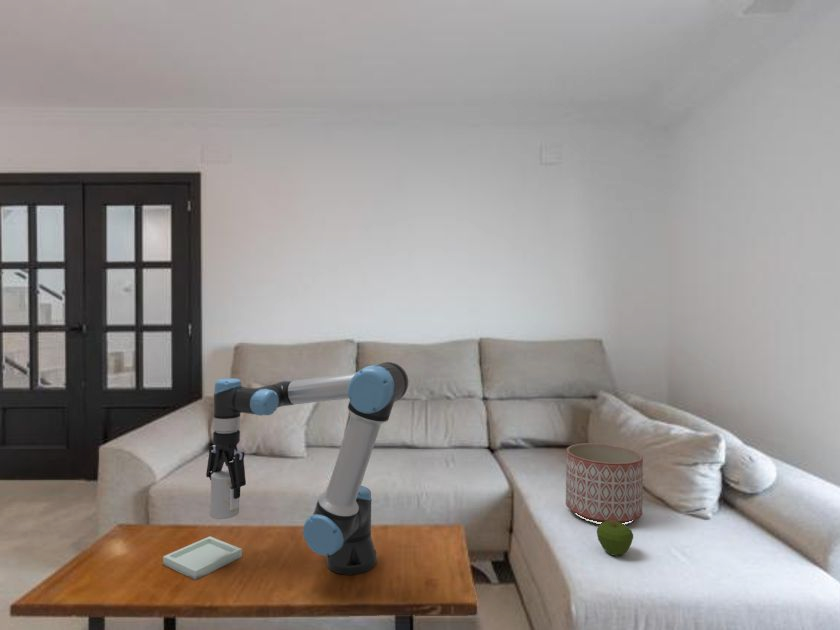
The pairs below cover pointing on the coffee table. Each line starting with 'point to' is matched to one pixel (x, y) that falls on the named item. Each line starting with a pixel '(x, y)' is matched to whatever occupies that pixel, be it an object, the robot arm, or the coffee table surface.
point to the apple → (614, 537)
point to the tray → (202, 557)
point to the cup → (221, 496)
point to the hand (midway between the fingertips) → (224, 504)
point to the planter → (604, 482)
